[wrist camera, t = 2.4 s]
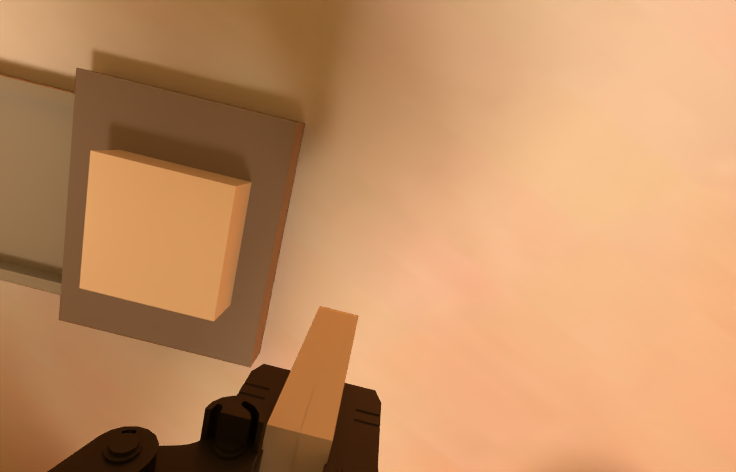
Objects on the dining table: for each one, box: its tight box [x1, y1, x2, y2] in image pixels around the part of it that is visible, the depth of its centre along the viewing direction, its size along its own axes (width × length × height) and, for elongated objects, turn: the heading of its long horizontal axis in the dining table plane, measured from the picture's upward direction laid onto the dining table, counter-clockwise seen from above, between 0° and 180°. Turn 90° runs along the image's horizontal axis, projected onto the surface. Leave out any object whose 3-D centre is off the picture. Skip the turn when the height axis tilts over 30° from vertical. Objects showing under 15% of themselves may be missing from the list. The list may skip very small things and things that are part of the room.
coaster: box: [79, 150, 252, 321], centre depth 24 cm, size 8×8×2 cm
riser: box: [59, 68, 305, 367], centre depth 26 cm, size 16×13×2 cm
